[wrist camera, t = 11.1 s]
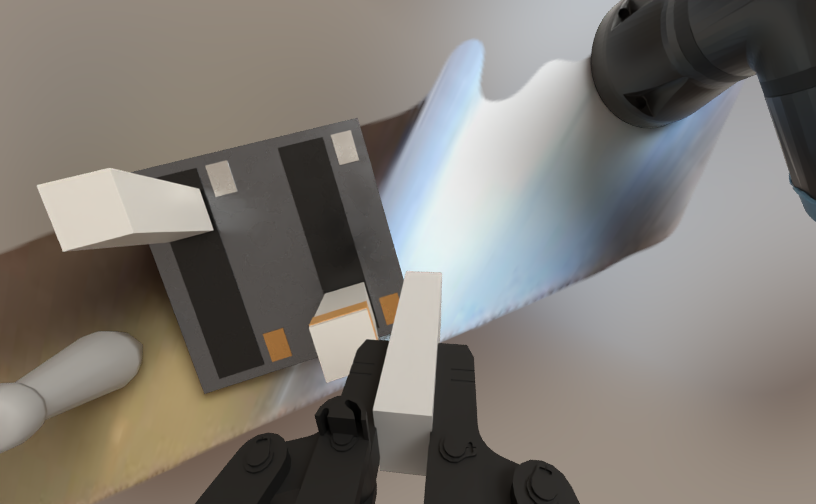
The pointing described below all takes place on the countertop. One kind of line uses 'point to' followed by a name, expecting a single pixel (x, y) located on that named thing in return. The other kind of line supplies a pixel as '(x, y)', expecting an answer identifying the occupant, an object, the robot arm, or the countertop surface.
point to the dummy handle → (122, 210)
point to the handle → (342, 329)
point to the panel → (276, 249)
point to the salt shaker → (67, 383)
